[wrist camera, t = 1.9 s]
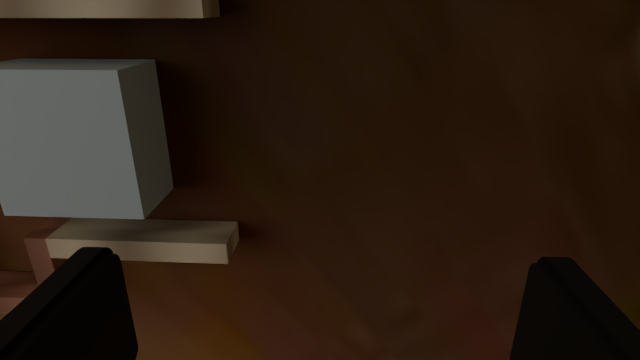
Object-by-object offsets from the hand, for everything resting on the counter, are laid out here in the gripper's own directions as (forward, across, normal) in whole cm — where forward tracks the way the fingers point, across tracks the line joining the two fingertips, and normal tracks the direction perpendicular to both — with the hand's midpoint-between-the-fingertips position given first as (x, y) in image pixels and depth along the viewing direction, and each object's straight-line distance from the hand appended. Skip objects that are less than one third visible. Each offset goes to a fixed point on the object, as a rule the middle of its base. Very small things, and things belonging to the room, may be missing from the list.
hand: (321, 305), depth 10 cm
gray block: (+14, +12, -1) cm, 18 cm away
